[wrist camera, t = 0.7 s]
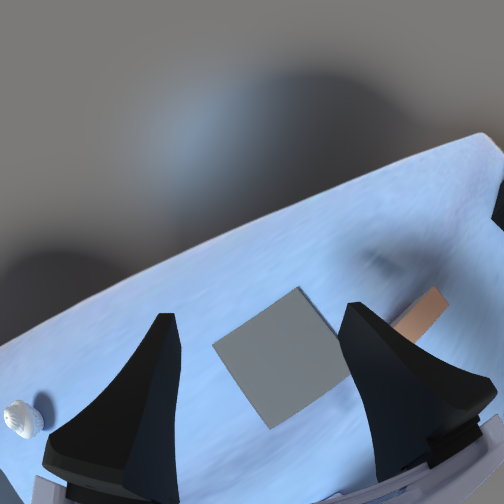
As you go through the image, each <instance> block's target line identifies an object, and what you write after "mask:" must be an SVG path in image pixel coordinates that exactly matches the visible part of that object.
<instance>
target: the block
mask: <svg viewBox="0 0 504 504" xmlns="http://www.w3.org/2000/svg"><path fill="white" fill-rule="evenodd" d="M448 305H449V303H448V302H447V301H446V299H445V298H444V297H443V296H442V294H441V293H440V292H439V291H438V289H437V288H436V287H435V286H433V287H432V288H430V289H429V290H428V291H426V292H425V293H424V294H423V295H421V296H420V297H419V298H418V299H416V300H415V301H414V302H412V303H411V304H410V305H409V306H408V307H407V308H406V309H405V310H404V311H403V312H402V313H401V314H400V315H399V316H398V317H397V318H396V319H395V320H394V321H393V322H392V323H391V324H390V326H391V327H392V328H394V329H395V330H396V331H397V332H399V333H400V334H401V335H403V336H404V337H405V338H407V339H408V340H410V341H411V342H412V343H414V344H415V343H416V341H417V340H418V339H419V338H420V337H421V336H422V335H423V334H424V333H425V332H426V331H427V330H428V329H429V327H430V326H431V325H432V324H433V323H434V322H435V321H436V320H437V318H438V317H439V316H440V315H441V314H442V312H443V311H444V310H445V309H446V308H447V306H448Z"/></svg>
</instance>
